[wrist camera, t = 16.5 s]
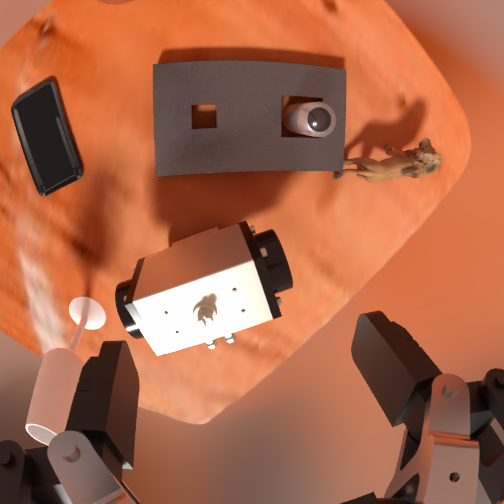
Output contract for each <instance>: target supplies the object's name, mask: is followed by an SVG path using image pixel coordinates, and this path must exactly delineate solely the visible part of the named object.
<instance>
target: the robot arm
mask: <svg viewBox="0 0 504 504" xmlns="http://www.w3.org/2000/svg"><path fill="white" fill-rule="evenodd" d="M99 1H101V2H104V3H107V4H120V3H124V2H128V1H131V0H99ZM351 352H352V357H353V360H354V362H355V364H356V366H357V367H358V369H359V370H360V372H361V374H362V376H363V377H364V379H365V381H366V382H367V384H368V386H369V387H370V389H371V391H372V393H373V394H374V396H375V398H376V399H377V401H378V403H379V405H380V406H381V408H382V410H383V411H384V413H385V415H386V417H387V418H388V420H389V422H390V423H391V425H392V427H394V426H397V425H399V424H402V423H404V424H405V425H406V429H405V431H404V434H403V439H402V444H401V449H400V453H399V457H398V462H397V466H396V470H395V473H394V476H393V479H392V481H391V482H390V484H389V486H388V488H387V490H386V493H385V495H384V498H376V496H375V494H374V492H372V493H370V494H367V495H364V496H362V497H358V498H356V499H353V500H350V501H347V502H344V503H341V504H475V501H476V492H477V483H478V478H479V480H480V481H481V483H482V485H483V487H484V489H485V491H486V493H487V495H488V497H489V499H490V501H491V503H492V504H504V445H503V444H502V442H501V440H500V439H499V438H498V436H497V434H496V433H495V431H494V430H493V428H492V427H491V425H490V424H491V423H492V421H493V420H494V419H495V418H496V419H497V421H498V422H499V424H500V425H501V427H502V428H503V430H504V370H502V369H498V368H497V369H496V368H495V369H491V370H489V371H488V372H487V374H486V376H485V377H484V379H483V381H476V382H467V383H466V382H465V381H464V380H463V379H462V378H460V377H459V376H457V375H454V374H443V373H442V372H441V371H440V370H439V369H438V367H437V366H436V365H435V364H434V362H433V361H432V360H431V359H430V358H429V356H428V355H427V354H426V353H425V352H424V351H423V349H422V348H421V347H419V344H418V343H417V342H416V341H415V340H413V337H412V336H411V335H410V334H409V333H408V332H407V330H406V329H405V328H403V327H402V326H400V325H399V324H397V323H395V322H394V321H393V322H390V321H389V319H388V318H387V317H386V316H385V315H384V314H383V312H381V311H375V312H369V313H364V314H361V315H360V316H359V318H358V321H357V325H356V330H355V334H354V338H353V342H352V347H351ZM138 397H139V377H138V373H137V370H136V367H135V364H134V361H133V358H132V356H131V353H130V350H129V347H128V344H127V342H126V341H104V342H103V344H102V347H101V350H100V353H99V357H90V359H89V360H88V361H87V362H86V364H85V365H84V366H83V367H82V370H81V373H80V377H79V382H78V383H77V387H76V392H75V394H74V397H73V401H72V405H71V408H70V412H69V416H68V420H67V424H66V428H65V431H64V432H62V433H59V434H58V435H56V436H55V437H54V438H53V439H52V440H51V442H50V443H49V446H46V447H40V448H34V449H27V450H24V449H23V448H22V447H21V446H20V445H19V444H18V443H16V442H14V441H11V440H5V441H1V442H0V504H141V502H140V501H139V500H138V499H137V498H136V497H135V495H134V494H133V493H132V492H131V491H130V489H129V488H128V487H127V486H126V484H125V483H124V482H123V480H122V469H133V460H134V443H135V430H136V417H137V407H138Z"/></svg>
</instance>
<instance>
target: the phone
mask: <svg viewBox="0 0 504 504" xmlns="http://www.w3.org/2000/svg"><path fill="white" fill-rule="evenodd" d="M11 112H12V116H13V120H14V123H15V127H16V130H17V134H18V137H19V140H20V143H21V146H22V150H23V153H24V156H25V159H26V161H27V164H28V167H29V170H30V173H31V175H32V178H33V181H34V183H35V186H36V188H37V191H38V193H39V194H40V195H41V196H47V195H49V194H50V193H52V192H54V191H56V190H58V189H60V188H62V187H64V186H66V185H68V184H70V183H72V182H74V181H76V180H78V179H79V178H81V176H82V175H83V167H82V165H81V161H80V159H79V156H78V153H77V150H76V148H75V144H74V141H73V139H72V136H71V133H70V130H69V127H68V124H67V121H66V117H65V114H64V111H63V107H62V104H61V101H60V97H59V93H58V90H57V86H56V83H55V82H54V81H50V80H49V81H45V82H44V83H42V84H40V85H39V86H37V87H36V88H34V89H32V90H31V91H29V92H28V93H26V94H25V95H23V96H22V97H20V98H19V99H17V100H16V101H15V102H14V103H13V104H12V107H11Z"/></svg>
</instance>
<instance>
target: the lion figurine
mask: <svg viewBox="0 0 504 504" xmlns="http://www.w3.org/2000/svg"><path fill="white" fill-rule="evenodd" d="M385 154H386V155H388V156H393V157H391V158H387V159H384V160H381V161H380V162H378V161H376V160H373V159H369V158H353V159H348V158H347V157H345V156H344V159H343V164H346V165H350V164H357V165H361V166H362V167H363V168H364V169H365V170H357V169H345V170H343V171H341V172H339V173H336V174H335V175H334V176H333V179H337V178H339V177H341V176H342V175H343V174H345V173H356V174H357V177H358V178H360V179H366V180H367V181H368V182H372V183H379V182H384V181H386V180H389V179H398V178H402V177H406V176H407V177H412V178H420V177H421V176H424V175H428V174H430V173H431V172H434V171H435V170H437V169H438V167H439V165H440V164H441V160H442V156H441V155H439V154H438V153H436V152H435V149H434V148H433V147H432V146H431V143H430V140H429V139H428V138H426V139H423V140H422V141H421V142H420V143H419V148H415V149H413V150H406V151H400V150H392V148H391V147H390V146H387V147H386V148H385Z"/></svg>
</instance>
